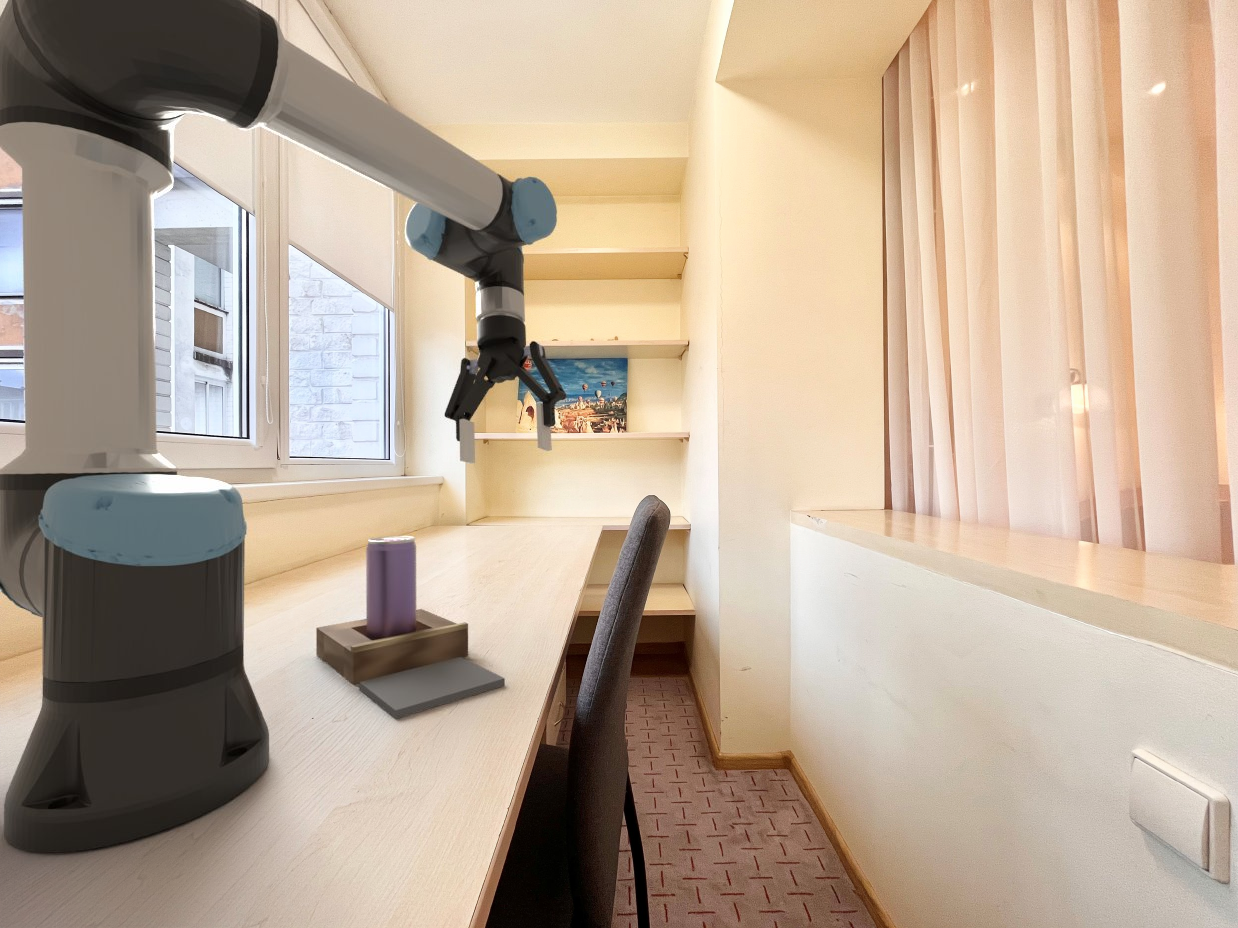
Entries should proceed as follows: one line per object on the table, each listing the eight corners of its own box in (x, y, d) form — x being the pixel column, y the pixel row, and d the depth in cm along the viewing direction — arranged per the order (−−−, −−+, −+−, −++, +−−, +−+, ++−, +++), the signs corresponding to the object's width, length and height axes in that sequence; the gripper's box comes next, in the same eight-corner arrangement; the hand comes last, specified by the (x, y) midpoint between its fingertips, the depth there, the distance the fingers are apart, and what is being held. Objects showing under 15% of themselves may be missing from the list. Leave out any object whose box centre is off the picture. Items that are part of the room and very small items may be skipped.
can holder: (353, 684, 63) (353, 647, 63) (316, 654, 73) (316, 622, 73) (468, 655, 73) (468, 623, 73) (421, 632, 83) (421, 604, 83)
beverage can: (405, 663, 70) (405, 541, 70) (357, 663, 70) (357, 541, 70) (423, 647, 76) (423, 535, 76) (379, 647, 76) (378, 535, 76)
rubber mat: (395, 718, 54) (395, 710, 54) (359, 689, 62) (359, 681, 62) (504, 685, 62) (504, 678, 63) (461, 663, 70) (461, 656, 70)
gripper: (583, 314, 88) (591, 447, 84) (451, 348, 97) (453, 470, 93) (560, 293, 81) (567, 437, 77) (421, 332, 90) (421, 463, 86)
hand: (505, 455), depth 85 cm, fingers open, 13 cm apart
